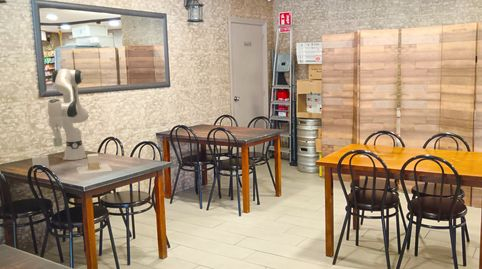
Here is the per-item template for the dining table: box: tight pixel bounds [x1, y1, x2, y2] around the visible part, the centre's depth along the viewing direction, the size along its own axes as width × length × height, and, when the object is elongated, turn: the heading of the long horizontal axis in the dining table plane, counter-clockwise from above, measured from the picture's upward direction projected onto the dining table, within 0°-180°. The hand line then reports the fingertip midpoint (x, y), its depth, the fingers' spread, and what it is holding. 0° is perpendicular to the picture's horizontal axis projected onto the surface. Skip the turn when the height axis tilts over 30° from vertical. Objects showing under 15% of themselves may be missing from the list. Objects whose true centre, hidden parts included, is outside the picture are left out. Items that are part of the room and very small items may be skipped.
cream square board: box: [75, 163, 113, 175], centre depth 336 cm, size 24×22×1 cm
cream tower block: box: [86, 153, 100, 164], centre depth 335 cm, size 7×7×5 cm
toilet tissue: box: [31, 154, 50, 173], centre depth 338 cm, size 11×12×10 cm
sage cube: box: [53, 137, 63, 148], centre depth 324 cm, size 5×5×5 cm
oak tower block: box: [87, 161, 100, 170], centre depth 336 cm, size 7×7×5 cm
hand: (58, 143), depth 324 cm, fingers closed on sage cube, 5 cm apart
